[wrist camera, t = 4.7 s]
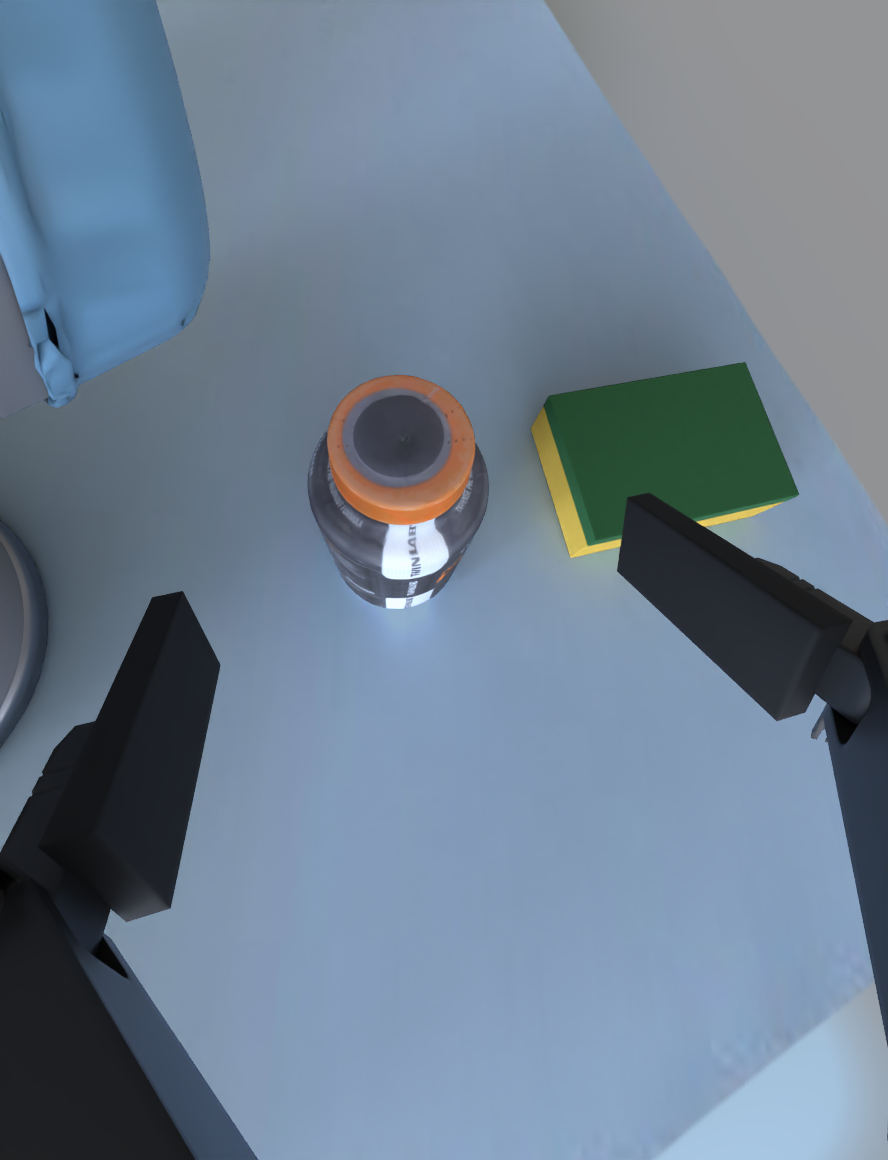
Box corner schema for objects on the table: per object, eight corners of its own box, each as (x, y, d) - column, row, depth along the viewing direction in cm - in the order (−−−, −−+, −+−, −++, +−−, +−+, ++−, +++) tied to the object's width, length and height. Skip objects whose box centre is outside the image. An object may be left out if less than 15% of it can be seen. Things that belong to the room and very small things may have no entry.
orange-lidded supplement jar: (449, 617, 23) (503, 561, 12) (327, 602, 22) (264, 530, 11) (460, 503, 24) (519, 357, 13) (345, 487, 24) (305, 321, 13)
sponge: (570, 558, 24) (595, 541, 21) (530, 428, 26) (548, 395, 22) (752, 516, 26) (800, 494, 23) (706, 396, 27) (745, 361, 24)
